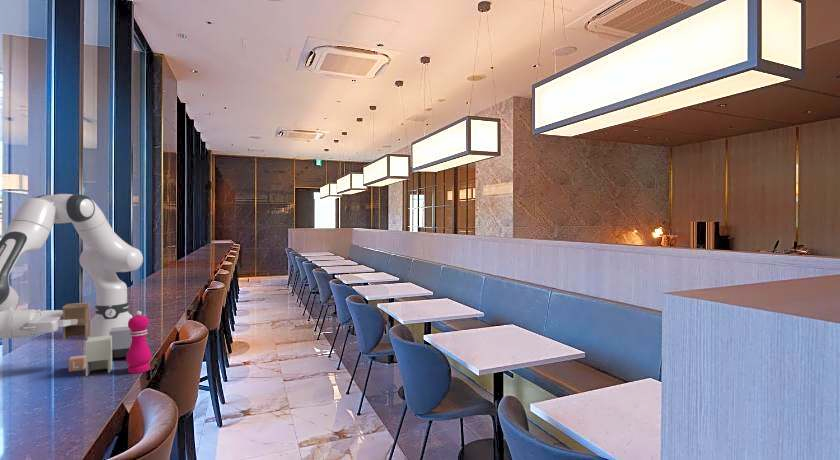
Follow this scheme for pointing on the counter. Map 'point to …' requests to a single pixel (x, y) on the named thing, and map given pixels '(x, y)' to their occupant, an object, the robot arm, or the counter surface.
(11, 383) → the counter surface
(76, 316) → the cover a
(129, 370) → the pepper mill
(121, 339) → the cover
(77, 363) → the letter cube
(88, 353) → the cover
